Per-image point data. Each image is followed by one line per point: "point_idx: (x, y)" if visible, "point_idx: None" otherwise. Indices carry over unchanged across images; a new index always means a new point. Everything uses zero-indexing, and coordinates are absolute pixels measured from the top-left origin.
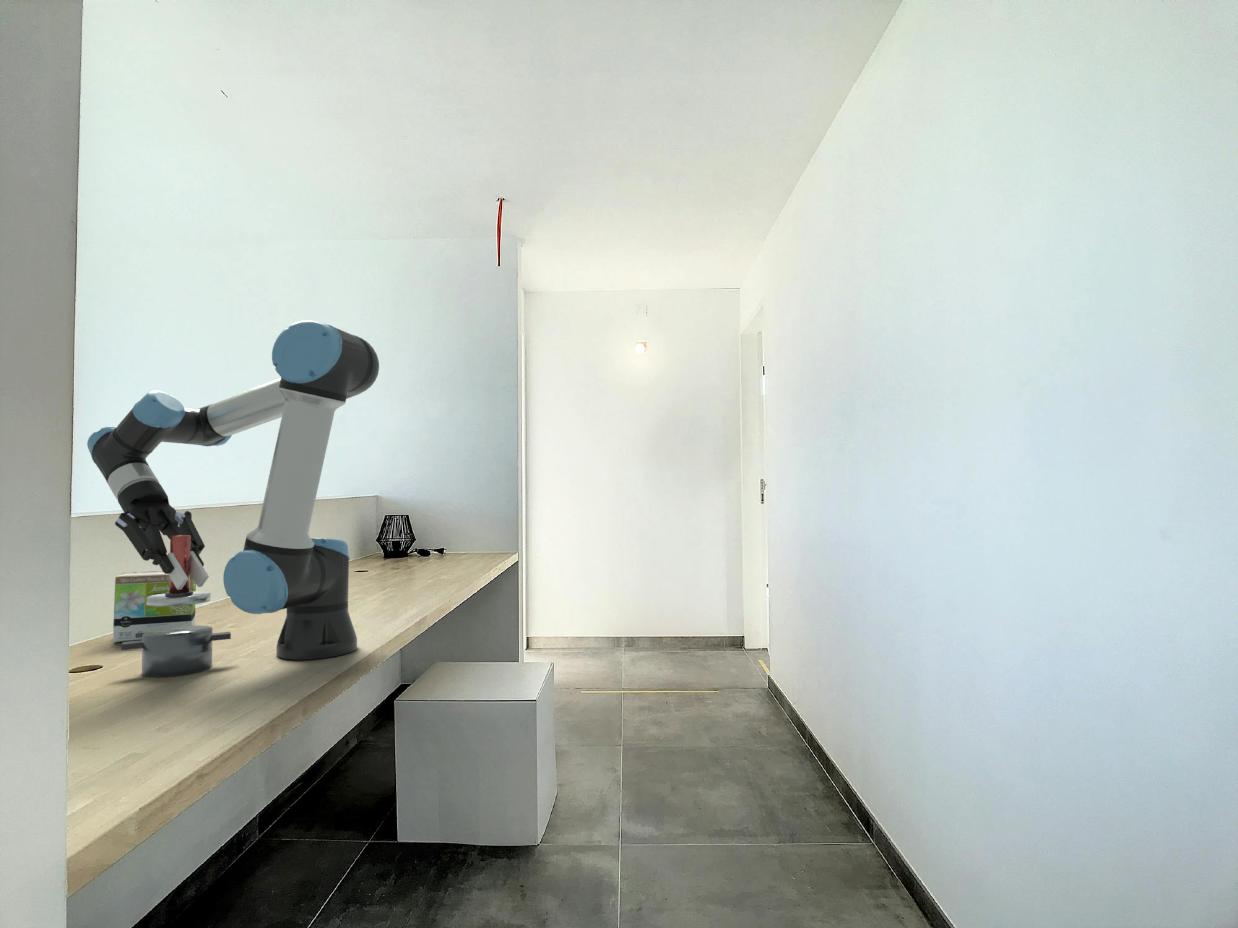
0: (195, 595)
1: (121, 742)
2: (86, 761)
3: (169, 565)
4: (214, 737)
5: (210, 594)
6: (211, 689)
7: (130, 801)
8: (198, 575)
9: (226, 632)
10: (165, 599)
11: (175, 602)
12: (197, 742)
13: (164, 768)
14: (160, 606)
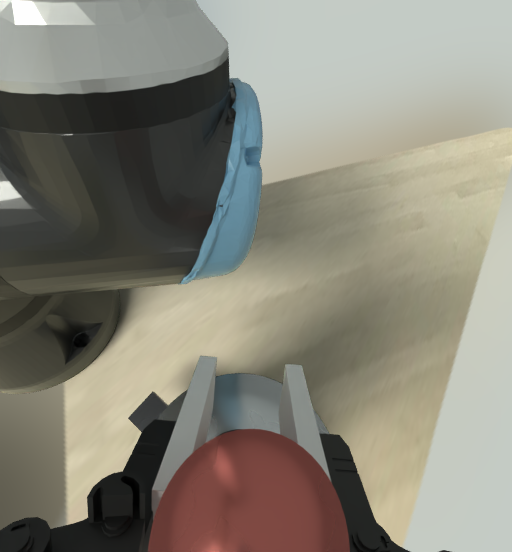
0: (221, 415)
1: (457, 225)
2: (492, 212)
3: (334, 449)
4: (402, 171)
5: (172, 402)
6: (303, 292)
7: (489, 139)
8: (210, 400)
9: (141, 416)
10: (323, 430)
11: None
12: (417, 174)
13: (456, 158)
14: None
